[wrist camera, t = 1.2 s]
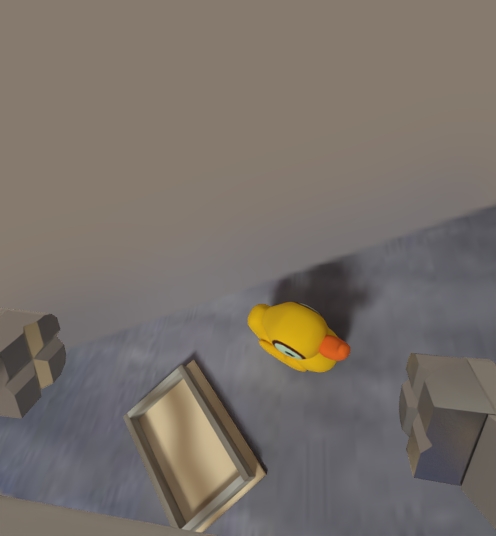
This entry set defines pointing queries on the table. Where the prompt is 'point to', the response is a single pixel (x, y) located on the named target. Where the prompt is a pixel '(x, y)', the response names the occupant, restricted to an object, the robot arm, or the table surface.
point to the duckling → (297, 336)
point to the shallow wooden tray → (192, 449)
